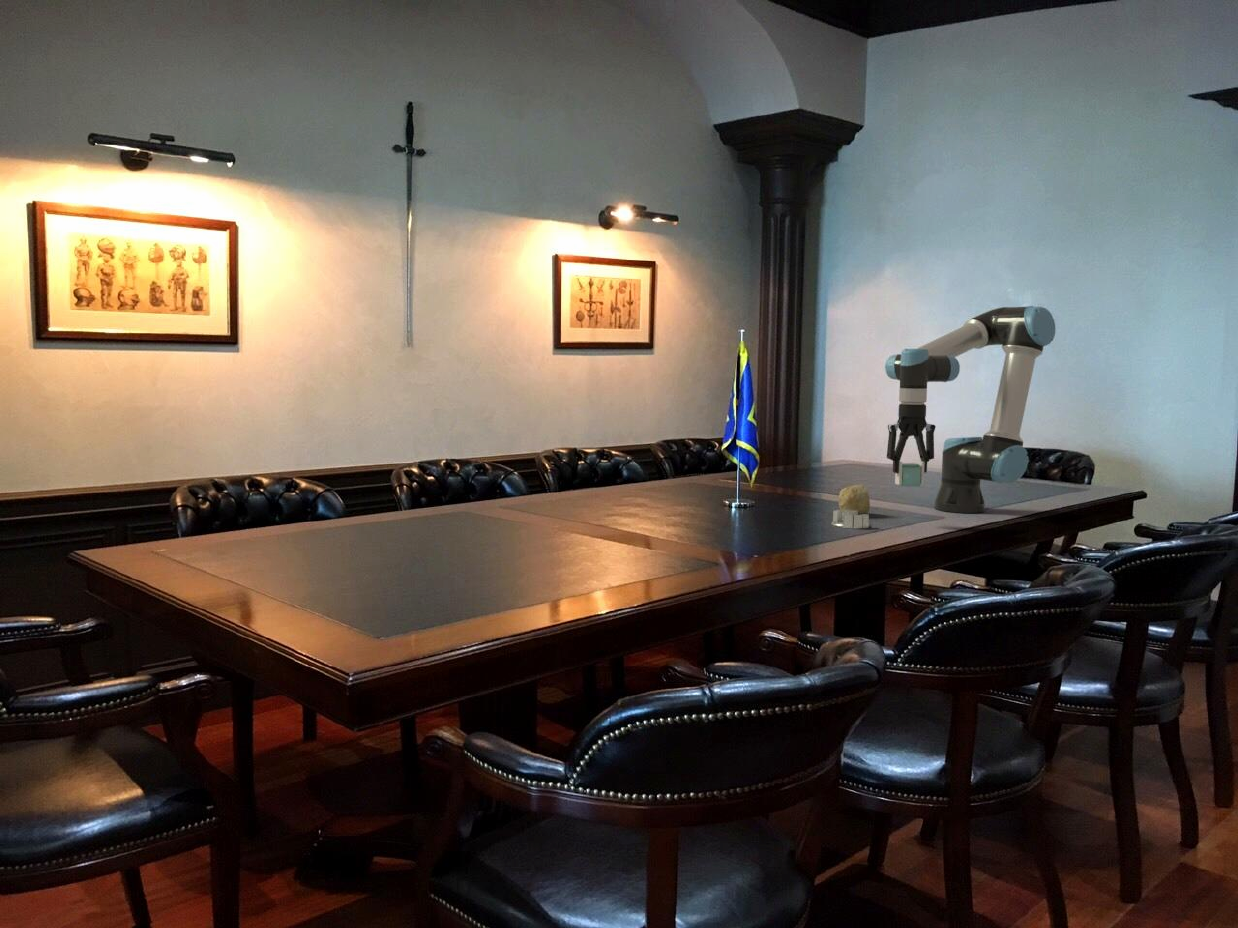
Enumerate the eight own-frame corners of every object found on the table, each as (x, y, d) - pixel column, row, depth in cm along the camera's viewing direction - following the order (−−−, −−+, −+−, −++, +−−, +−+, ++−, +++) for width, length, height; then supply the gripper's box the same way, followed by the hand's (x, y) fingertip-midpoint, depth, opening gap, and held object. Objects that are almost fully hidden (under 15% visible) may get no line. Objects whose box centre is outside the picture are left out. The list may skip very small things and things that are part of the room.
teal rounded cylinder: (914, 483, 299) (915, 462, 298) (924, 486, 293) (924, 465, 292) (895, 483, 298) (895, 463, 297) (904, 486, 292) (904, 465, 292)
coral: (882, 494, 308) (854, 481, 306) (867, 525, 309) (839, 512, 307) (870, 487, 318) (842, 475, 315) (855, 517, 319) (827, 504, 316)
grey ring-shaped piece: (860, 521, 300) (861, 509, 300) (875, 528, 290) (876, 515, 289) (826, 522, 298) (826, 509, 298) (839, 528, 288) (840, 515, 288)
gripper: (937, 402, 298) (934, 481, 301) (875, 402, 295) (872, 482, 298) (950, 404, 291) (946, 485, 294) (886, 404, 288) (883, 486, 290)
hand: (909, 483), depth 296 cm, fingers closed on teal rounded cylinder, 6 cm apart
